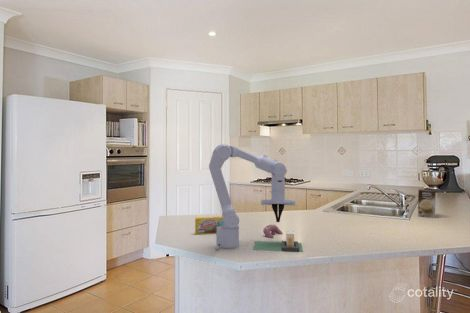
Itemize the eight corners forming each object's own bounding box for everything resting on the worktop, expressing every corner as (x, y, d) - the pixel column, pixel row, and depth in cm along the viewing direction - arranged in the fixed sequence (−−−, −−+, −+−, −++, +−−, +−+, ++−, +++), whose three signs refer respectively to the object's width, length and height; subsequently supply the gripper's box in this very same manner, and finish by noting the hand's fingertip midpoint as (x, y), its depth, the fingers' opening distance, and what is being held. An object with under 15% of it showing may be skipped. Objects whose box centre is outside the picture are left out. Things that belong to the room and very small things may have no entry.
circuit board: (252, 252, 125) (252, 249, 125) (255, 243, 137) (255, 241, 137) (303, 254, 122) (303, 252, 122) (301, 245, 134) (301, 243, 134)
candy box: (195, 234, 151) (195, 218, 151) (195, 233, 153) (195, 217, 153) (227, 233, 154) (227, 216, 154) (227, 231, 156) (227, 215, 156)
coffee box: (417, 216, 190) (417, 190, 189) (417, 214, 195) (418, 189, 195) (435, 218, 185) (435, 191, 184) (435, 216, 190) (435, 190, 190)
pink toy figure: (276, 237, 151) (271, 224, 152) (284, 235, 148) (278, 221, 150) (265, 242, 143) (260, 228, 145) (273, 240, 140) (267, 225, 142)
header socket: (281, 251, 123) (281, 247, 123) (281, 244, 132) (281, 240, 132) (299, 252, 122) (299, 248, 122) (297, 244, 131) (297, 241, 131)
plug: (286, 250, 124) (286, 234, 124) (286, 246, 129) (286, 231, 129) (294, 250, 124) (294, 234, 124) (293, 246, 129) (293, 231, 129)
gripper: (260, 191, 130) (260, 223, 131) (295, 191, 128) (295, 224, 129) (261, 189, 137) (261, 219, 138) (294, 189, 135) (294, 220, 136)
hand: (278, 221), depth 134 cm, fingers closed
